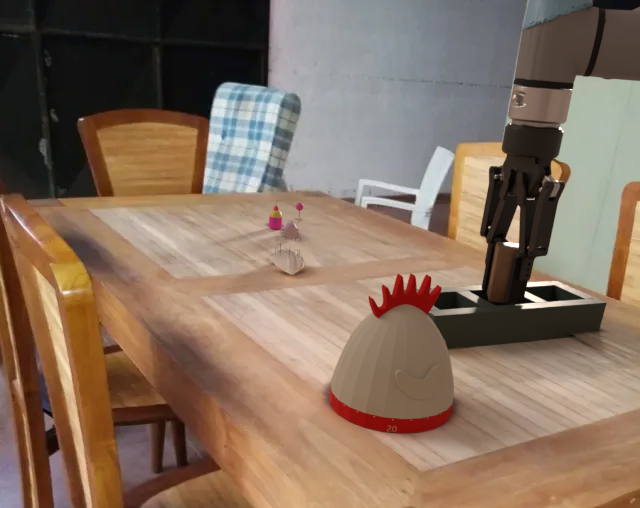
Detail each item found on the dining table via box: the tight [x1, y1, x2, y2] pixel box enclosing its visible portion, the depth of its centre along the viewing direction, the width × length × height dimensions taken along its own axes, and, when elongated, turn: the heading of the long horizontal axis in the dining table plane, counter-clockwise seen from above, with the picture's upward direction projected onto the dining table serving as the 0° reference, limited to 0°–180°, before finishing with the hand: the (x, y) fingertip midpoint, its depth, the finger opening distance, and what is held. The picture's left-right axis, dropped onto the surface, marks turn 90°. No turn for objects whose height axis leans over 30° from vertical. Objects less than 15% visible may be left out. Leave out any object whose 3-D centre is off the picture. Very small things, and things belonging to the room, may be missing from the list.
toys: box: [268, 199, 304, 241], centre depth 154 cm, size 18×8×6 cm, turn 6°
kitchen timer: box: [328, 273, 455, 434], centre depth 77 cm, size 14×14×15 cm
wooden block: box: [487, 242, 519, 304], centre depth 102 cm, size 4×4×8 cm
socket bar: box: [404, 280, 608, 350], centre depth 105 cm, size 11×30×5 cm, turn 113°
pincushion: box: [268, 236, 305, 276], centre depth 126 cm, size 12×6×6 cm, turn 11°
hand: (501, 294), depth 104 cm, fingers closed on wooden block, 5 cm apart
